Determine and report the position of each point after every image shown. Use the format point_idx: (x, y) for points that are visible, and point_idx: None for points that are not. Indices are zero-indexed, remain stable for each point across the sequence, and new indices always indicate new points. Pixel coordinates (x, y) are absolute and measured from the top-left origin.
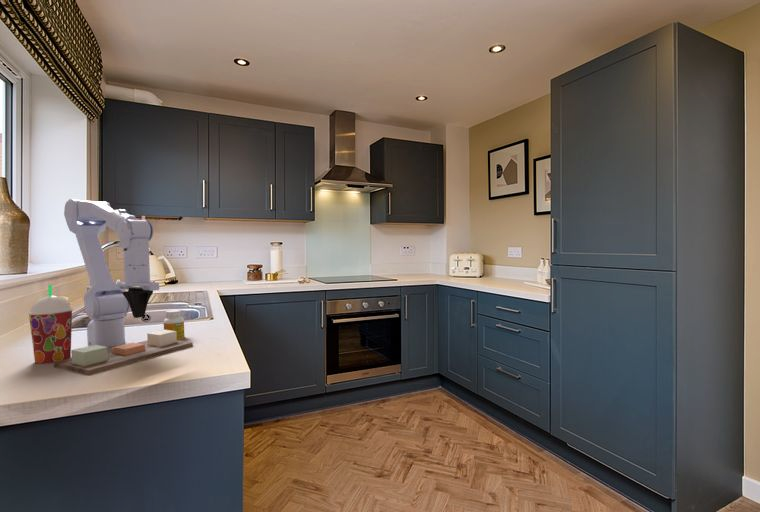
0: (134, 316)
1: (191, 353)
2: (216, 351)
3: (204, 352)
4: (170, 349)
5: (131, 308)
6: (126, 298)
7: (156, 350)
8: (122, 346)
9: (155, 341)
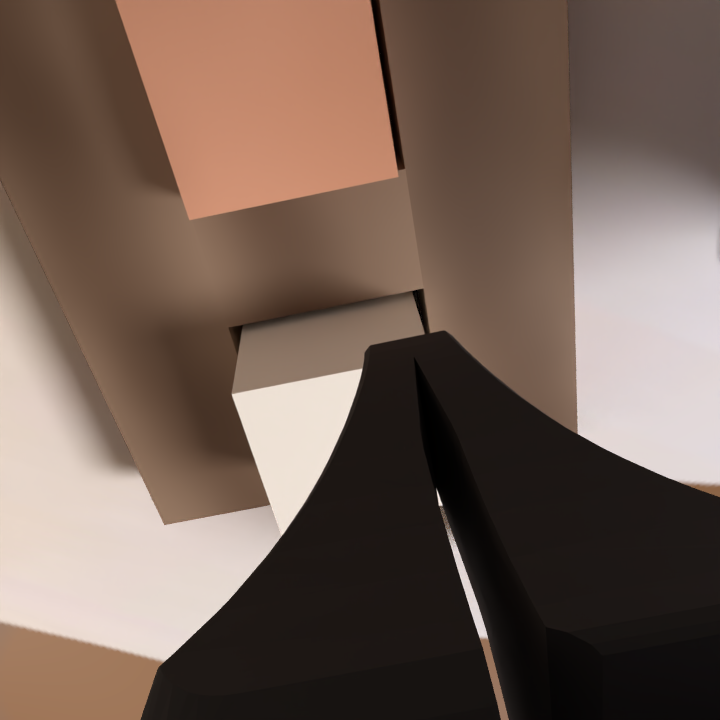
0: (419, 341)
1: (128, 450)
2: (50, 553)
3: (85, 505)
4: (88, 354)
5: (481, 393)
6: (660, 492)
7: (92, 258)
8: (293, 23)
9: (296, 342)
